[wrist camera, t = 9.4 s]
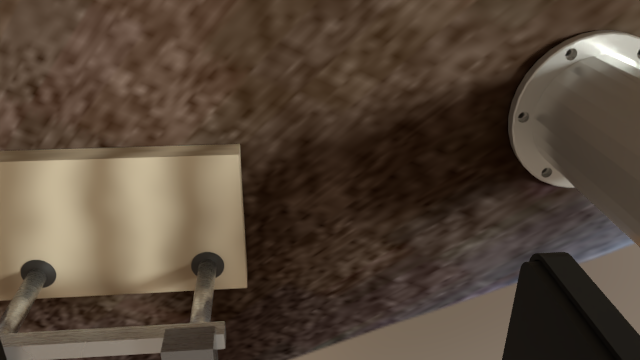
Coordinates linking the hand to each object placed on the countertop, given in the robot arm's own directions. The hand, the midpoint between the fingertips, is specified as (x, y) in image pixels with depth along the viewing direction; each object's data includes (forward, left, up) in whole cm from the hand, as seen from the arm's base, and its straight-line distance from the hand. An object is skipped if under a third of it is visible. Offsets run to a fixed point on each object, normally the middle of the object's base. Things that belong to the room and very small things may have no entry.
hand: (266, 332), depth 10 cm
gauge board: (+12, +16, -32) cm, 38 cm away
